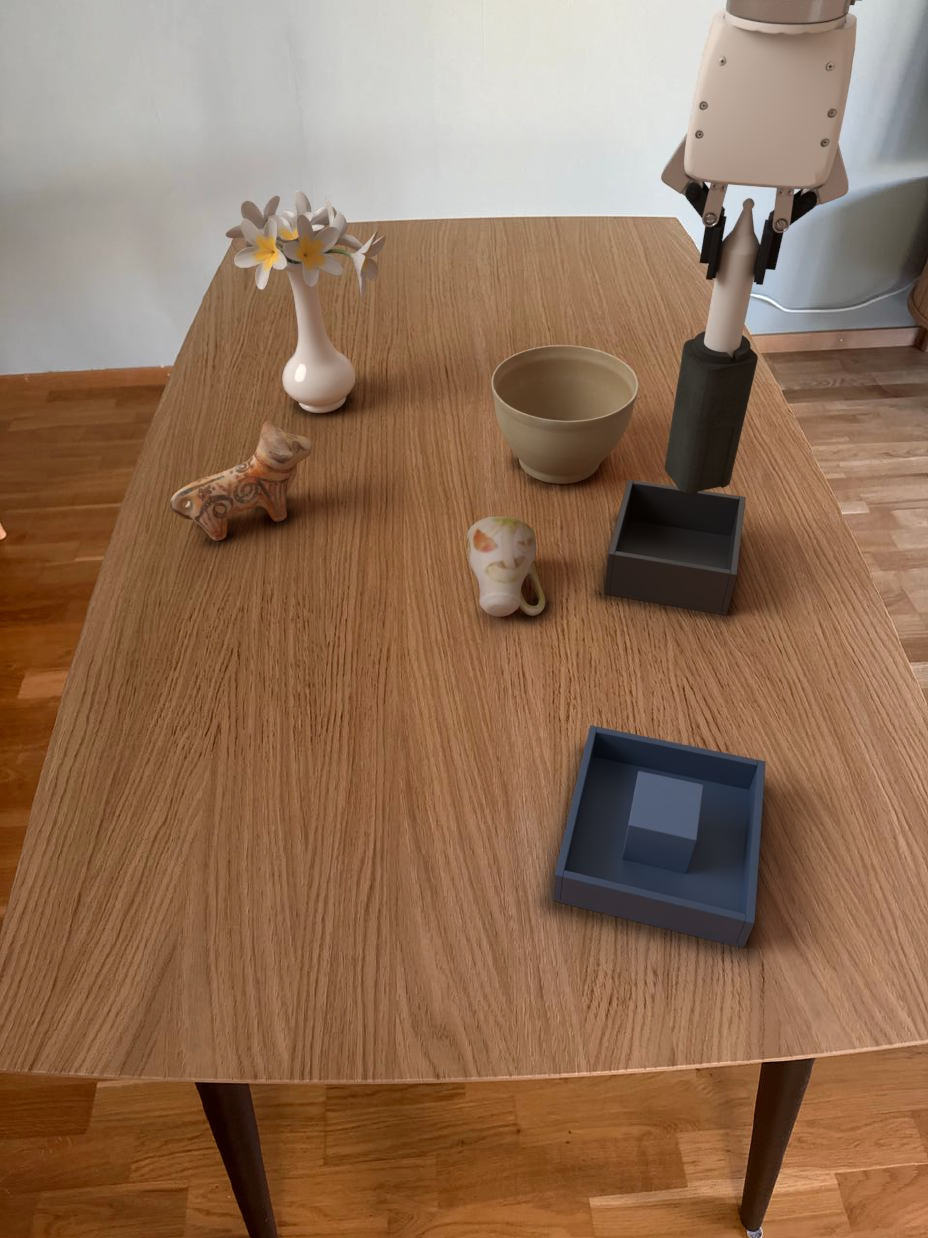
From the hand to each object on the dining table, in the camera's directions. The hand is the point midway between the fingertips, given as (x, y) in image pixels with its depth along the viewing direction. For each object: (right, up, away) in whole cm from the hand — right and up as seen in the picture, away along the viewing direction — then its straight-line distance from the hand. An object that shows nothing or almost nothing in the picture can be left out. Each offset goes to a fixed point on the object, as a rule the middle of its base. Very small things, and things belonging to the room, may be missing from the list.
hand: (735, 272), depth 71 cm
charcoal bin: (+1, -21, +25) cm, 32 cm away
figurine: (-45, -16, +32) cm, 57 cm away
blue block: (-6, -44, +2) cm, 45 cm away
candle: (+1, -14, +14) cm, 20 cm away
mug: (-17, -24, +23) cm, 37 cm away
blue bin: (-5, -45, +2) cm, 45 cm away
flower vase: (-39, +2, +49) cm, 62 cm away
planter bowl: (-10, -8, +38) cm, 40 cm away
